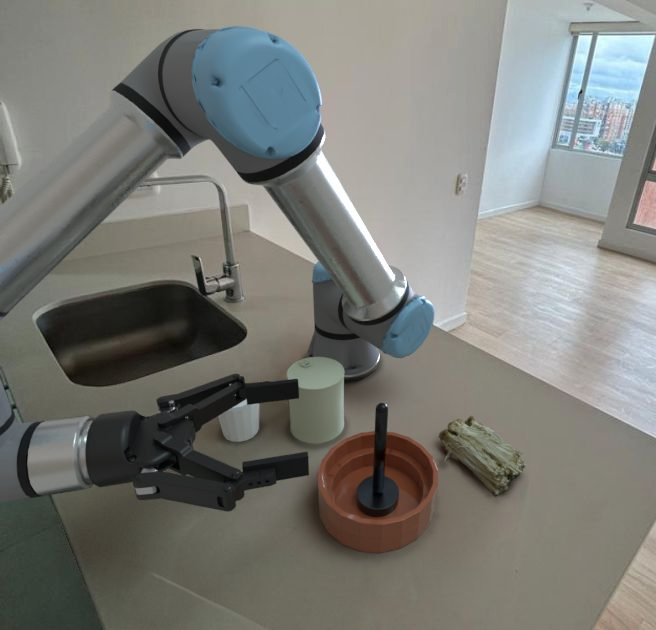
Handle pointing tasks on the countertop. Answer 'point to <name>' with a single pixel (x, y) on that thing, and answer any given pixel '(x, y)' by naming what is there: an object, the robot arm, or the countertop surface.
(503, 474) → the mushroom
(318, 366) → the can
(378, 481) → the peg stand
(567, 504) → the countertop surface
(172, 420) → the robot arm
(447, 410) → the countertop surface
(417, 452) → the bowl
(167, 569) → the countertop surface
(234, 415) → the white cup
